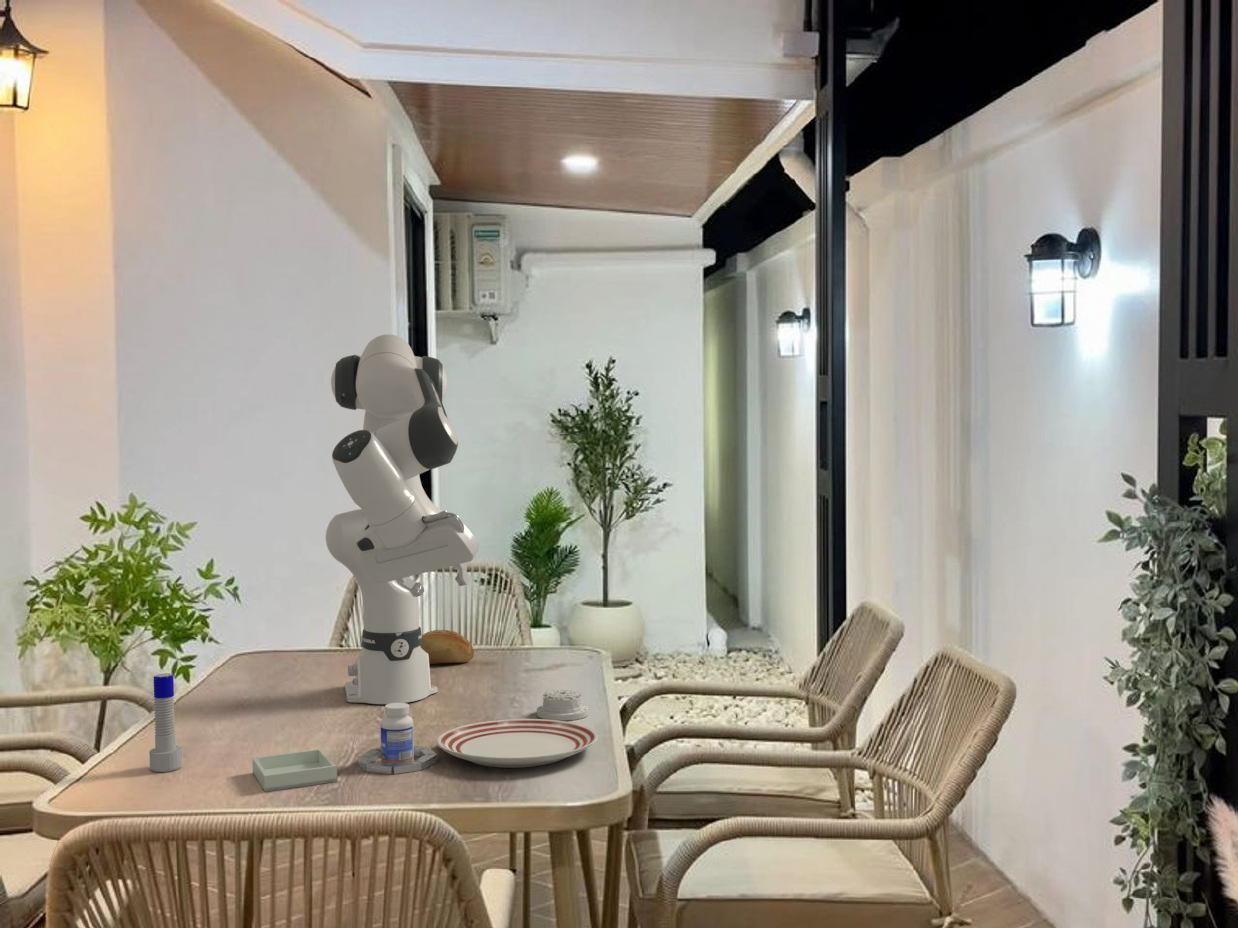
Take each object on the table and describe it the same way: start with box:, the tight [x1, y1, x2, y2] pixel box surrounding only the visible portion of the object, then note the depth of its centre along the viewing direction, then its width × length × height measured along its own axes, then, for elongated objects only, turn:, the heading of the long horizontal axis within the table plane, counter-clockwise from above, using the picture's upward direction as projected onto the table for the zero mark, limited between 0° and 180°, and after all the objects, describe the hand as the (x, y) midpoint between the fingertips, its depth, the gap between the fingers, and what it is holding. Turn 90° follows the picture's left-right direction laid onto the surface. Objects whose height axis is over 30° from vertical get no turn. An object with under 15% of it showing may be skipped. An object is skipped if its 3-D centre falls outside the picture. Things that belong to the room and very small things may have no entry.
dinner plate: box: [436, 718, 599, 769], centre depth 207 cm, size 28×27×3 cm
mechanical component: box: [536, 689, 590, 722], centre depth 233 cm, size 10×4×10 cm
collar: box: [357, 745, 438, 775], centre depth 202 cm, size 12×12×1 cm
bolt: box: [148, 672, 183, 773], centre depth 200 cm, size 16×5×5 cm
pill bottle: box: [380, 702, 415, 764], centre depth 202 cm, size 5×5×10 cm
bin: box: [251, 748, 338, 793], centre depth 195 cm, size 11×11×2 cm
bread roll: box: [420, 629, 475, 665], centre depth 281 cm, size 10×15×8 cm, turn 97°
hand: (442, 588), depth 200 cm, fingers open, 8 cm apart
